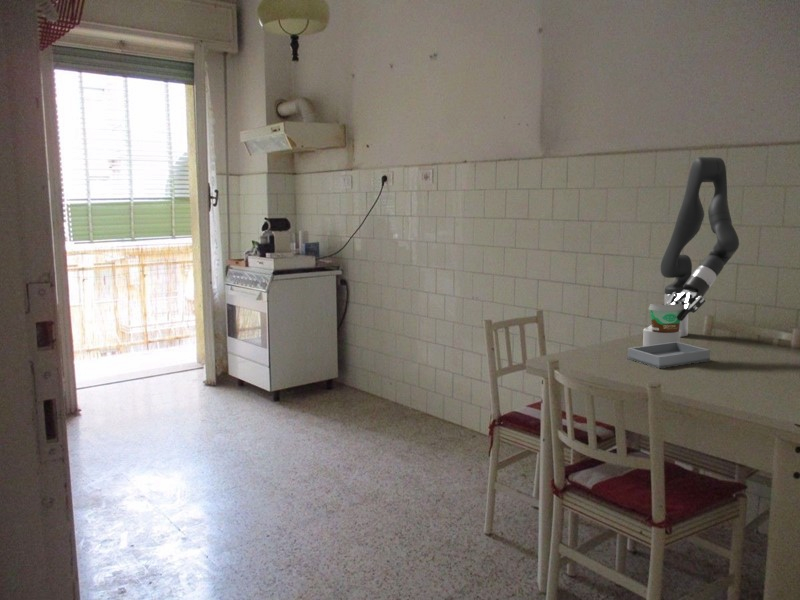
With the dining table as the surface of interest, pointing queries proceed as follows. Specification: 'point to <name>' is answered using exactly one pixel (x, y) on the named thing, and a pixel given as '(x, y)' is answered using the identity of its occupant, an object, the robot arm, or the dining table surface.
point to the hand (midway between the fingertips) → (673, 318)
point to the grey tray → (668, 354)
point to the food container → (665, 317)
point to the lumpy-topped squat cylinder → (659, 337)
